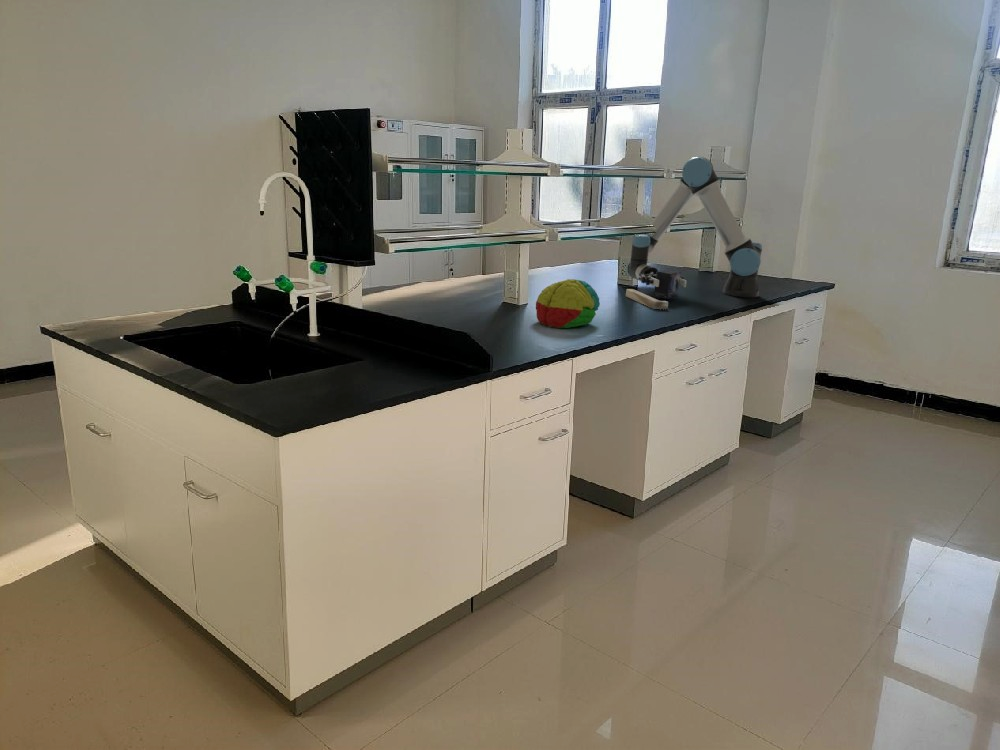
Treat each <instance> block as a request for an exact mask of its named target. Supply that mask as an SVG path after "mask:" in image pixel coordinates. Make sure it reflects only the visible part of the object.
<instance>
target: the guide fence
mask: <svg viewBox="0 0 1000 750" xmlns="http://www.w3.org/2000/svg"><path fill="white" fill-rule="evenodd" d="M625 297H626V298H629V299H631V300H633V301H634V302H637V303H640V304H642V305H643V304H644V306H645V305H646V307H647V306H648V307H647V308H649V309H652V310H654V309H660V310H659V311H662V310H661V309H663V310H664V309H665V310H664V311H667V310H668V308H669V301H666V300H659V299H656V298H655V297H651V296H650V295H648V294H645V293H643V292H641V291H639V290H636V289H633V288H626V292H625ZM666 309H667V310H666Z"/></svg>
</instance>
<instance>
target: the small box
mask: <svg viewBox="0 0 1000 750" xmlns="http://www.w3.org/2000/svg"><path fill="white" fill-rule="evenodd" d="M681 273H682V272H681V271H677V270H673V269H668V268H667V269H663V270H658V271H657V274H656V279H658V280H659V287H656V286H654V290H653V294H652V295H653V298H655V297H656V298H661V299H665V300H667V299H668V300H669V299H672V298H675V297H678V294H679V287H680V285H679V280H680V276H681Z"/></svg>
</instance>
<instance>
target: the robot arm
mask: <svg viewBox="0 0 1000 750" xmlns="http://www.w3.org/2000/svg"><path fill="white" fill-rule="evenodd" d="M681 173H682V174H681V175H682V177H681V178H680V180H679V185H678V186H677V187H676V189H675V190H674V192H673V193H672V194H671V196H670V197H669V198H668V200H667V201H666V203H665V204H664V205H663V206H662V208H661V210H660V211H659V212H658V213H657V214H656V216H655V217H654V219H653V220H652V221H651V223H650V224H649V226H650V225H653V226H655V228H656V229H655V230H656V231H655V232H656V233H652V234H649V235H643V234H641V235H639V236H636V237H634V238H633V237H632V241H631V243H632V244H631V252H630V253H631V255H630V261H629V262H627V264H626V266H625V273H626V274H627V276H629V277H630V278H631V279H634V280H637V281H640V282H641V284H645V286H654V287H655V286H656V287H659V280H658V279H656V274H657V271H659V270H658V269H657V268H656V267H654V266H651V265H649V264H648V261H649V260H648V259H649V254H650V253H651V252H652V251H653V250H654V249H655V246H656V245H657V244H658V243H659V241H660V240H661V238H662V237H663V235H664V234H665V233H666V232H667V230H668V229H669V228H670V227H671V225H672V224H673V223H674V222H675V220H676V218H677V217H678V216H679V215H680V213H681V212H682V210H683V209H684V208H685V207H686V205H687V204H688V203H689V201H690V200H691V199H692V197H693V196H694V197H698V198H699V200H700V202H701V204H702V206H703V208H704V209H705V211H706V213H707V215H708V217H709V218H710V221H711V222H712V224H713V226H714V228H715V230H716V231H717V234H718V235H719V238H720V239H721V241H722V242H723V245H724V251H723V253H724V255H725V257H726V259H727V261H728V262H729V266H730V271H729V276H728V278H727V279H726V282H725V284H724V286H723V289H722V293H723V294H725V295H728V296H733V297H738V296H739V297H738V298H757V297H759V293H760V290H759V284H758V275H759V269H760V265H761V256H762V251H763V245H762V243H759V242H753V241H752V240H751V237H747V236H745V234H744V233H743V231H742V229H741V227H740V225H739V223H738V221H737V220H736V217H735V216H734V214H733V212H732V210H731V208H730V206H729V205H728V202H727V201H726V199H725V197H724V194H723V193H722V192H721V190H720V188H719V183H720V179H719V177H718V176H717V174H716V172H715V170H714V166H713V164H712V162H711V161H710V160H709V159H707V158H706V157H704V156H694V157H691V158H690V159H689V160H687V161H686V162H685V163H684V165H683V167H682V170H681ZM680 286H681V287H682V288H687V280H686V279H684V277H683V276H681V275H680V280H679V287H680Z"/></svg>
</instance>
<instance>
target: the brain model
mask: <svg viewBox="0 0 1000 750" xmlns="http://www.w3.org/2000/svg"><path fill="white" fill-rule="evenodd" d="M600 304H601V303H600V297H599V295H598V293H597V291H596V290H595V289H594V288H593V286H592V285H590V284H589V283H588V282H586V281H585V280H579V279H574V278H569V279H568V278H567V279H566V280H560V281H558V282H555V283H552V284H550V285H548V286H546V287H545V288H543V289H542V291H541V292H540V293H539V295H538V297H537V299H536V302H535V311H536V318H537V321H538V322H539V323H540V324H541V325H542V326H544V327H549V328H552V327H553V328H554V329H568V328H569V329H570V328H576V327H579V326H580V327H581V326H583V327H584V326H586V325H588V324H590V323H592V321H593V320H594V318H595V316H596V311H598V310H599V307H600Z"/></svg>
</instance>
